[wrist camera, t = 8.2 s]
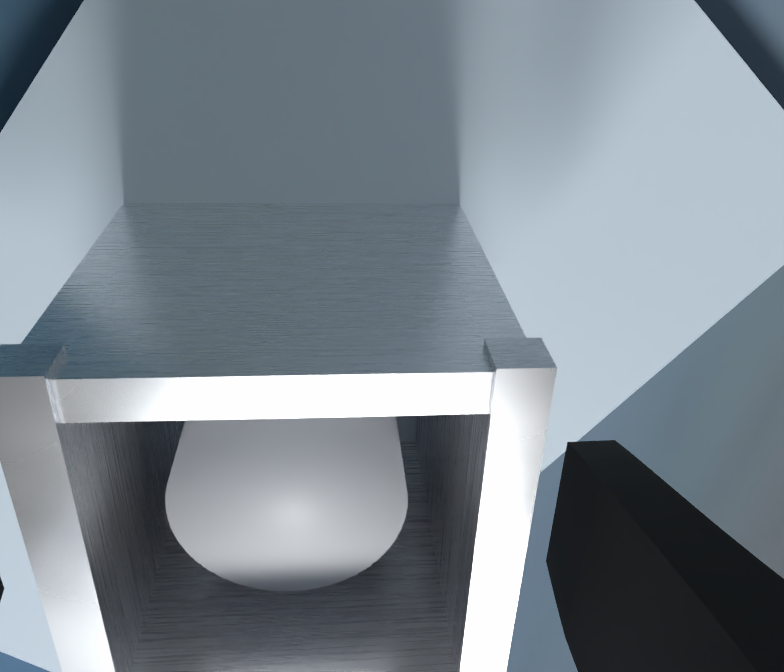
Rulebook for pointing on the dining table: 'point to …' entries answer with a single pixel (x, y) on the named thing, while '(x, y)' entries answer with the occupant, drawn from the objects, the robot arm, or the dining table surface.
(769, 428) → the dining table surface
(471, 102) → the duct plate
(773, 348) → the dining table surface
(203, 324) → the white boxy piece
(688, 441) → the dining table surface
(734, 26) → the dining table surface
